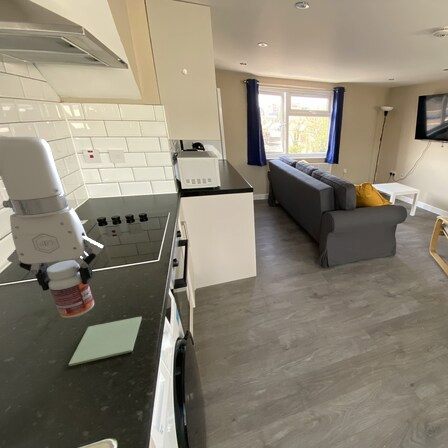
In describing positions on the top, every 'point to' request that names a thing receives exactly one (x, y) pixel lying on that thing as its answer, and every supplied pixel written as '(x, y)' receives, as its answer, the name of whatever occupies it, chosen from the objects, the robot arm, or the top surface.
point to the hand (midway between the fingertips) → (68, 283)
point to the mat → (106, 341)
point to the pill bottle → (69, 289)
